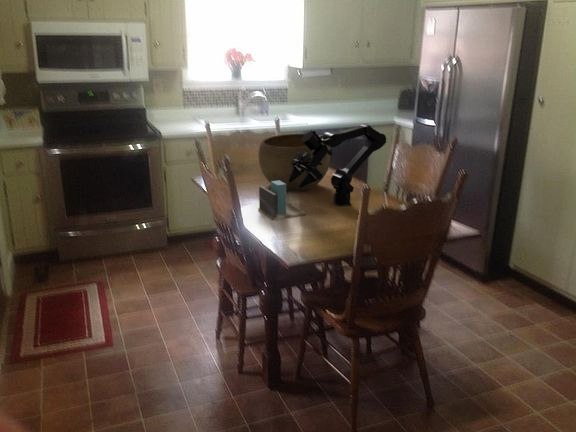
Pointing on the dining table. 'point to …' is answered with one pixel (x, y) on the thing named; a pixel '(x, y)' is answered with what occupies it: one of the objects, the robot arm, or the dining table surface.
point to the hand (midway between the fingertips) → (294, 184)
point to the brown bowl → (286, 160)
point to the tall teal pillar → (279, 196)
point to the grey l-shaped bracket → (269, 206)
